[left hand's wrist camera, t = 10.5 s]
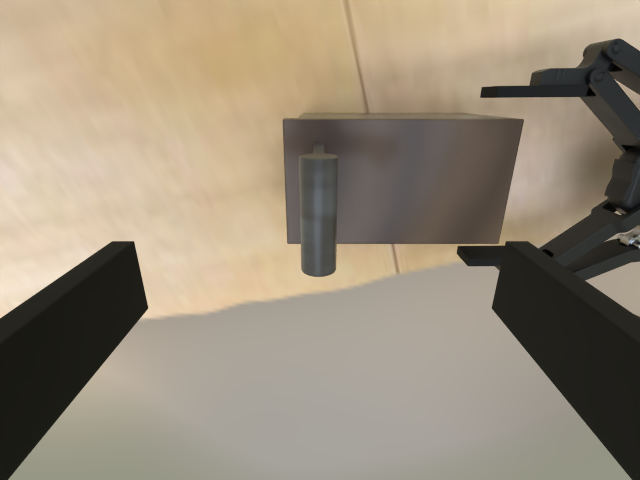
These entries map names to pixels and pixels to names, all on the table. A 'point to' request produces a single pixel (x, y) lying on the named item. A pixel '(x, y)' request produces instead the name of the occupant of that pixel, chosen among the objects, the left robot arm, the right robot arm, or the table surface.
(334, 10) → the table surface
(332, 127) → the lid
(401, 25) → the table surface
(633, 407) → the left robot arm
